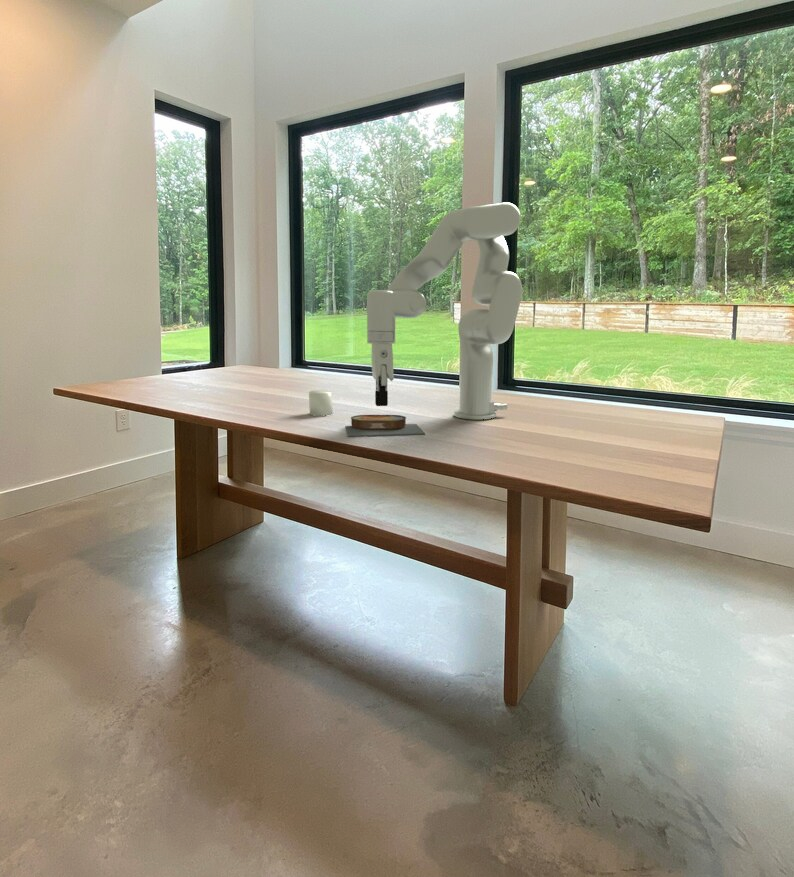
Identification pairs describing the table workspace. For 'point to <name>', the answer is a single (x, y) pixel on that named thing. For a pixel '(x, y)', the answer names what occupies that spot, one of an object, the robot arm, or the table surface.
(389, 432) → the mat
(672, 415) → the table surface
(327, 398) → the white rounded cube
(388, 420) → the tin
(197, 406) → the table surface
